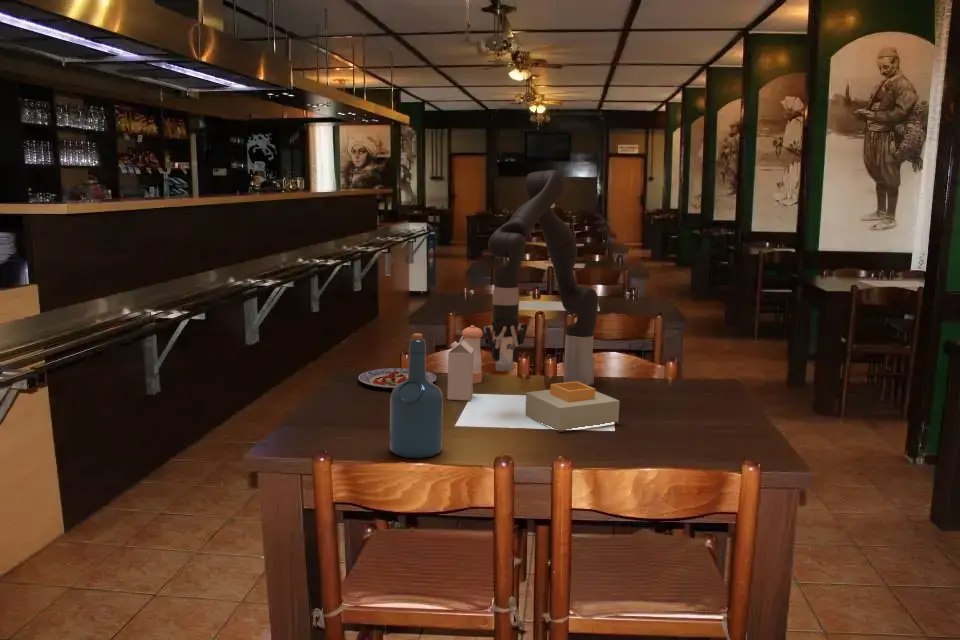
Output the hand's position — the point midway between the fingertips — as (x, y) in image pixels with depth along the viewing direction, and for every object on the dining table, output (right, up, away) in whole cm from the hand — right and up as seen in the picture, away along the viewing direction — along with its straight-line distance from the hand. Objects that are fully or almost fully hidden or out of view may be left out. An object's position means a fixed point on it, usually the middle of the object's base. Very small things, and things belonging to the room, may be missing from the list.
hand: (504, 359), depth 242 cm
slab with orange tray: (+19, -17, -3) cm, 26 cm away
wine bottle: (-23, -22, -33) cm, 46 cm away
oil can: (0, -3, 0) cm, 3 cm away
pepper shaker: (-10, -9, +40) cm, 42 cm away
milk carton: (-13, -13, +18) cm, 26 cm away
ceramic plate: (-35, -10, +35) cm, 50 cm away
